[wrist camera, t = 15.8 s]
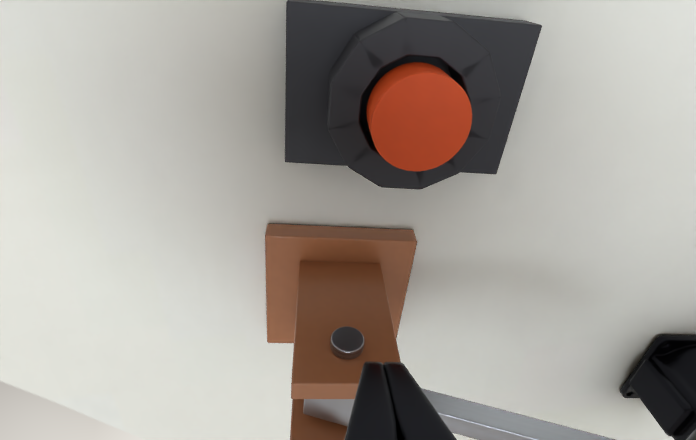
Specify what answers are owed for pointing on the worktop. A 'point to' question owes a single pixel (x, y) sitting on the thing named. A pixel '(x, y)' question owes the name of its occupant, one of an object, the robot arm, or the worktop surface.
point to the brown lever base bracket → (334, 309)
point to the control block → (379, 58)
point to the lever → (467, 420)
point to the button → (418, 116)
